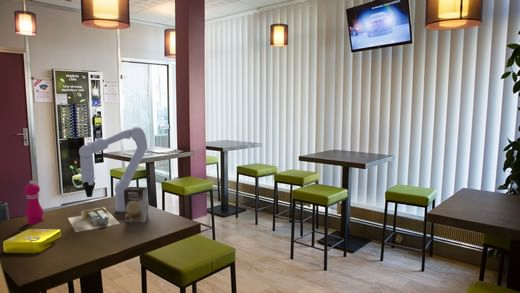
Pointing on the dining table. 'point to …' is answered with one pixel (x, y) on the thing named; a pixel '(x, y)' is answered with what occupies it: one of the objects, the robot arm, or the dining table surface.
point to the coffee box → (136, 204)
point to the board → (89, 223)
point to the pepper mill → (33, 204)
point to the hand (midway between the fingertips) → (89, 196)
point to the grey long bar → (103, 218)
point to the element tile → (31, 241)
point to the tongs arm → (93, 218)
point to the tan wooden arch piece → (85, 213)
